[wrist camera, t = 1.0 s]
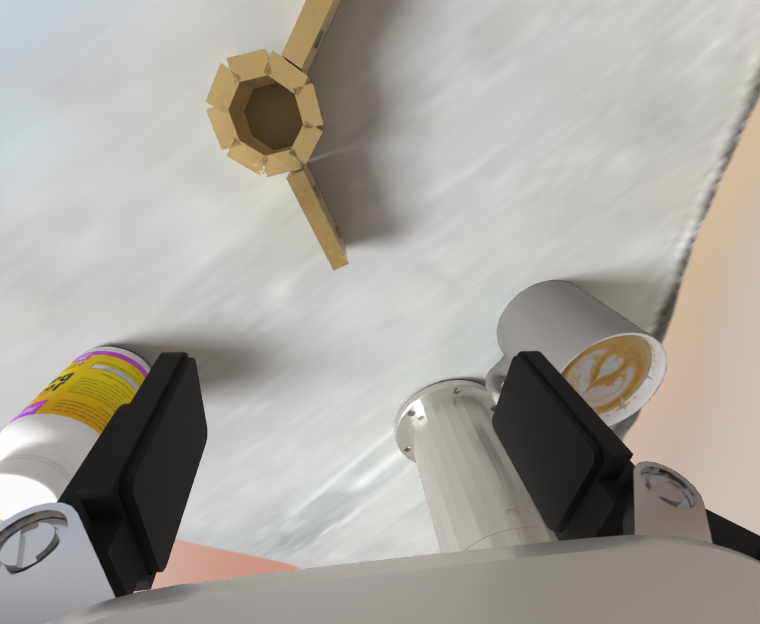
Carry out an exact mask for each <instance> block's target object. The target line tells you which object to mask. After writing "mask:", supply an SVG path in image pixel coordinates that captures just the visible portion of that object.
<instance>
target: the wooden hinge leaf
mask: <svg viewBox="0 0 760 624" xmlns="http://www.w3.org/2000/svg"><path fill="white" fill-rule="evenodd" d="M287 180H288V182H289V184H290V186H291V188H292V190H293V192H294V194H295V196H296V198H297V200H298V202H299V204H300V206H301V208H302V210H303V212H304V214H305V215H306V217H307V219H308V221H309V223H310V225H311V227H312V229H313V231H314V233H315V235H316V237H317V239H318V241H319V243H320V245H321V247H322V249H323V251H324V253H325V255H326V256H327V258H328V260H329V262H330V264H331V266H332V268H333V270H335V269H338V268H340V267H342V266H344V265H347V264H348V258H347V253H346V247H345V243H344V241H343V238H342V235H341V233H340V231H339V229H338V227H337V226H336V224H335V222H334V219H333V217H332V215H331V213H330V211H329V209H328V207H327V205H326V203H325V201H324V198H323V196H322V194H321V192H320V190H319V188H318V186H317V184H316V182H315V180H314V177H313V175H312V173H311V171H310V169H309V167H308V165H307V164H305V163H304V164H303V165H302V167H301V169H297V170H293V171H290V173H289V175H288V176H287Z"/></svg>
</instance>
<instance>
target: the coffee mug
mask: <svg viewBox="0 0 760 624" xmlns="http://www.w3.org/2000/svg"><path fill="white" fill-rule="evenodd" d="M497 339H498V344H499V346H500V348H501V350H502V352H503V353H504V356H503V358H502V359H501V360H500V361H499V362H498V363H497V364H496V365H495V366H494V367H493V368H492V369H491V370H490V371H489V372H488V374H487V376H486V381H485V384H486V389H487V392H488V394H489V396H490V398H491V399H492V401H493V402H494V404H495V405H497V402H498V399H499V396H500V393H501V384H502V383H503V382H504V381H505V379H506V376H507V373H508V370H509V367H510V364H511V361H512V359H513V357H514V356H517V354H518V353H519V352H520V351H540V352H541V353H542V354H543V355H544V356H545V357H546V358H547V359H548V361H549V362H550V363H551V364H552V365H553V366H554V367H555V368H556V369H557V370H558V372H559V373H560V374H561V375H562V376H563V377H564V378H565V379H566V380H567V381H568V383H569V384H570V385H571V386H572V387H573V388H574V389H575V390H576V391H577V393H578V394H579V395H580V396H581V397H582V398H583V399H584V400H585V401H586V402H587V404H588V405H589V406H590V407H591V408H592V409H593V410H594V411H595V412H596V414H597V415H598V416H599V417H600V418H601V419H602V420H603V421H604V422H605V423H606V425H607V426H611V425H613V424H616V423H618V422H620V421H622V420H624V419H626V418H627V417H629V416H630V415H632V414H634V413H635V412H636V411H638V410H639V409H640V408H641V407H642V406H643V405H645V404H646V403H647V402H648V401H649V400H650V399H651V397H652V396H653V395H654V394H655V392H656V391H657V389H658V388H659V386H660V385H661V383H662V381H663V379H664V375H665V372H666V368H667V356H666V352H665V350H664V348H663V346H662V345H661V343H660V342H659V341H658V340H656V339H655V338H654V337H653V336H651V335H650V334H648V333H647V332H645V331H644V330H642V329H641V328H639V327H638V326H636V325H635V324H633V323H632V322H630V321H629V320H627V319H626V318H624V317H623V316H621V315H620V314H618V313H617V312H615V311H614V310H612V309H610V308H609V307H607V306H606V305H604V304H603V303H601V302H600V301H598V300H597V299H595V298H594V297H592V296H591V295H589V294H588V293H586V292H585V291H583V290H582V289H580V288H579V287H577V286H576V285H574V284H572V283H569V282H566V281H560V280H553V281H545V282H541V283H538V284H536V285H533V286H531V287H529V288H527V289H526V290H524V291H523V292H521V293H520V294H519V295H517V296H516V297H515V298H514V299H513V300H512V301H511V302H510V303H509V304H508V306H507V307H506V309H505V310H504V312H503V313H502V315H501V317H500V320H499V323H498V327H497Z"/></svg>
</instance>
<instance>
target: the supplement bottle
mask: <svg viewBox="0 0 760 624" xmlns="http://www.w3.org/2000/svg"><path fill="white" fill-rule="evenodd" d="M150 370H151V369H150V367H149V366H148V365H147V363H146V362H145V361H144V360H143V359H141V358H140V357H139V356H137V355H136V354H134V353H132V352H130V351H127V350H124V349H120V348H116V347H98V348H94V349H90V350H88V351H86V352H84V353H83V354H81V355H80V356H79V357H78V358H77V359H75V360H74V361H73V362H72V363H71V364H70V365H69V366H68V367H67V368H66V369H65V370H64V371H63V372H62V373H61V374H60V375H59V376H58V377H57V378H56V379H55V380H53V381H52V383H50V384H49V386H48V387H47V388H45V389H44V390H43V391H42V392H41V393H40V394H39V395H38V396H37V397H36V398H35V399H34V400H33V401H32V402H31V403H30V404H29V405H28V406H27V407H26V408H25V409H24V410H23V411H22V412H21V413H20V414H19V415H18V416H17V417H16V418H15V419H14V420H13V421H12V422H11V423H10V424H9V425H8V426H7V427H6V428H5V429H4V430H3V431H2V432H1V433H0V519H2V520H7V519H8V518H10V517H12V516H13V515H15V514H17V513H19V512H21V511H23V510H26V509H28V508H31V507H33V506H36V505H41V504H45V503H56V502H57V501H58V499H59V498H60V496H61V495H62V493H63V492H64V490H65V489H66V487H67V485H68V484H69V482H70V481H71V479H72V478H73V476H74V475H75V473H76V472H77V470H78V468H79V467H80V465H81V464H82V462H83V461H84V459H85V458H86V456H87V455H88V453H89V451H90V450H91V448H92V447H93V445H94V444H95V442H96V441H97V439H98V438H99V436H100V435H101V433H102V431H103V430H104V428H105V427H106V425H107V424H108V422H109V421H110V419H111V418H112V416H113V414H114V413H115V411H116V410H117V409H118V408H119V406H121V405H122V404H128V403H130V402H131V401H132V399H133V397H134V396H135V394H136V393H137V391H138V389H139V388H140V386H141V384H142V383H143V381H144V380H145V378H146V376H147V375H148V373H149V371H150Z"/></svg>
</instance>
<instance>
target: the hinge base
mask: <svg viewBox="0 0 760 624" xmlns="http://www.w3.org/2000/svg"><path fill="white" fill-rule="evenodd" d="M341 1H342V0H306V2H305V4H304V6H303V8H302V11H301V13H300V15H299V17H298V20H297V22H296V24H295V26H294V29H293V31H292V33H291V35H290V38H289V40H288V42H287V44H286V47H285V49H284V51H283V53H282V56H283V58H284V59H283V58H282V57H281V56H279V55H278V54H277V53H275V52H274V51H272V53H271V56H270V54H269V53H268V52H267V51H266V50H265V49H263V50H258V51H254V52H250V53H246V54H242V55H238V56H234V57H230V58H226V59H227V61H228V64H229V67H230V68H229V67H227V66H225V65H223V64H220V67H219V69H218V72H217V74H216V77H215V79H214V82H213V84H212V87H211V89H210V92H209V95H208V97H207V100H206V102H208V103H209V104H211V105H212V106H214V108H210V109H206V111H207V113H208V116H209V118H210V121H211V123H212V126H213V129H214V131H215V134H216V136H217V139H218V141H219V144H220V146H221V149H222V150H223V149H227V148H230V150H229V152H228V154H227V156H228V157H230V158H232V159H233V160H235V161H237V162H238V163H240V164H242V165H244V166H245V167H247V168H249V169H250V170H252V171H254V172H255V173H257V174H259V175H262V174H263V173H264V172H265V171H266V174H267V177H269V176H273V175H277V174H281V173H285V172H289V171H293V170H297V169H301V167H302V165H303V163H305V164H307V162H308V160H309V158H310V156H311V154H312V152H313V150H314V148H315V146H316V144H317V142H318V140H319V138H320V136H321V135H322V133H323V130H322V129H321V128H319V127H318V126H320V125H323V120H322V116H321V112H320V108H319V105H318V101H317V97H316V93H315V89H314V86H313V83H312V84H311V83H310V80H309V77H308V76H307V75H306V74H307V72H308V70H309V68H310V66H311V64H312V62H313V60H314V58H315V55H316V53H317V51H318V49H319V47H320V45H321V43H322V41H323V39H324V36H325V34H326V32H327V30H328V28H329V26H330V24H331V22H332V20H333V18H334V15H335V13H336V11H337V9H338V7H339V5H340V3H341ZM274 83H279V84H280V85H282V86H283V87H284V88H286V89H287V90H289V91H290V92H292V93H293V94H294V95H295V97H296V101H297V105H298V108H299V112H300V115H301V119H302V122H303V126H302V128H301V130H300V132H299V134H298V136H297V138H296V140H295V142H294V144H293V145H292V146H288V147H284V148H280V149H276V150H274V149H272V148H270V147H269V146H267V145H266V144H264V143H262V142H261V141H259V140H258V139H256V138H254V137H253V135H252V132H251V129H250V127H249V124H248V121H247V118H246V115H245V112H244V111H245V108H246V106H247V104H248V101H249V99H250V97H251V94H252V92H253V90H254V88H258V87H262V86H266V85H270V84H274Z"/></svg>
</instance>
